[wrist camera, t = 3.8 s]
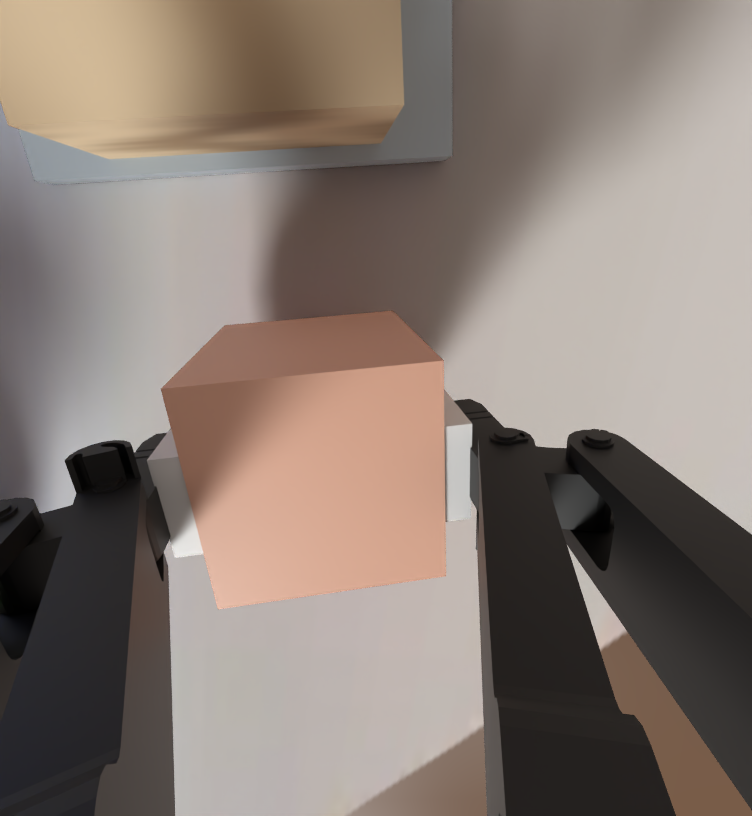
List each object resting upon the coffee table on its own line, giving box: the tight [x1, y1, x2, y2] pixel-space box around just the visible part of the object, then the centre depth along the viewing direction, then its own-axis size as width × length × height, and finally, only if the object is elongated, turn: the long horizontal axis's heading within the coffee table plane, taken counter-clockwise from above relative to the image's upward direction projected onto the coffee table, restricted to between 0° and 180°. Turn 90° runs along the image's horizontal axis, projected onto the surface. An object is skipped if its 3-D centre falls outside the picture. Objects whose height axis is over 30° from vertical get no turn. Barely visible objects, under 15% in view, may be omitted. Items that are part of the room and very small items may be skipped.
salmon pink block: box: [161, 311, 446, 609], centre depth 14 cm, size 6×6×7 cm
